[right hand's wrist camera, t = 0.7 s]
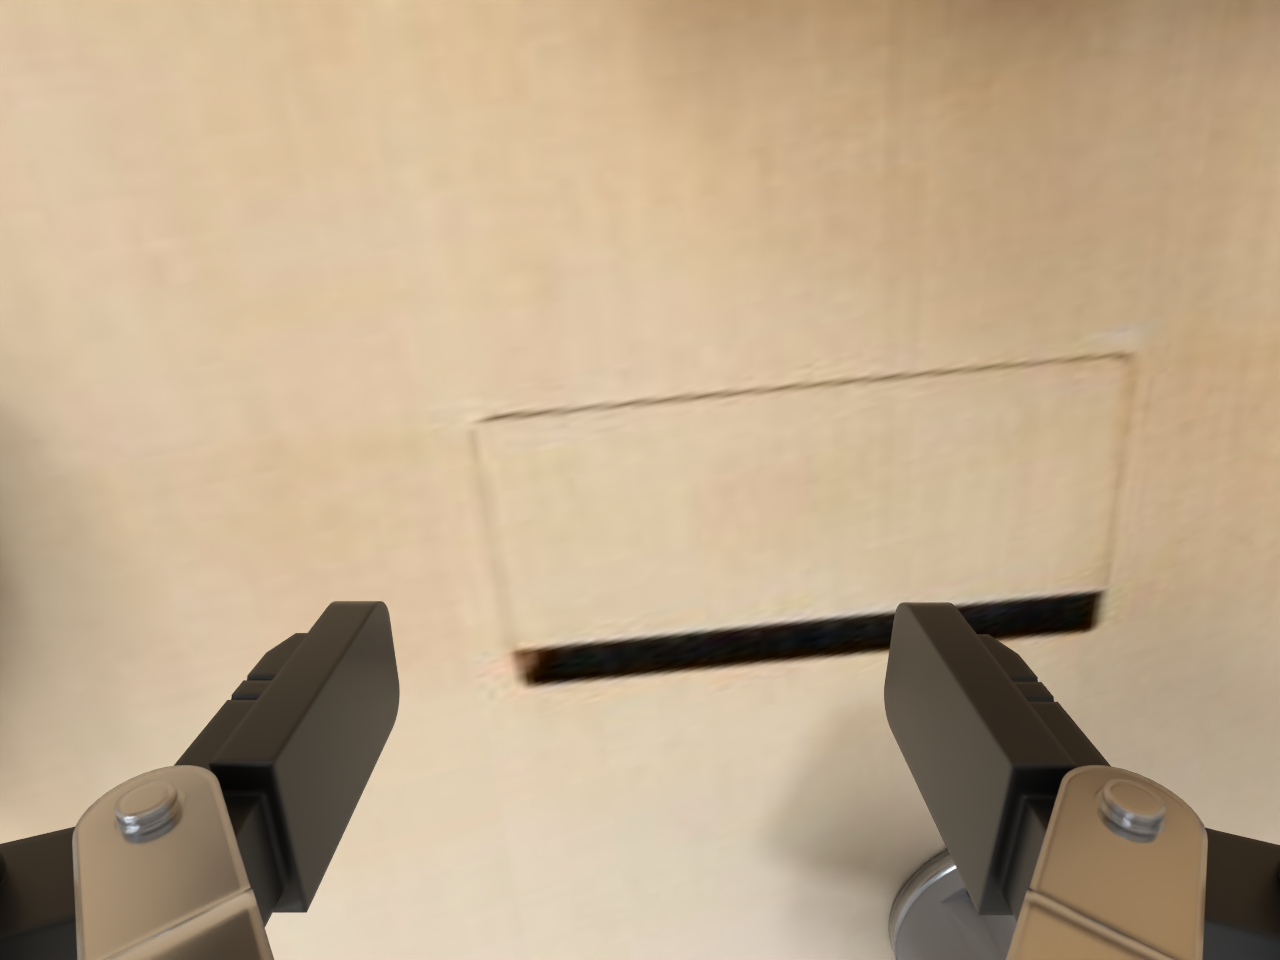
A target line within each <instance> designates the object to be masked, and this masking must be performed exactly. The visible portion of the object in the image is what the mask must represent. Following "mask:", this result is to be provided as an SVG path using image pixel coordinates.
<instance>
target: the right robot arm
mask: <svg viewBox="0 0 1280 960" xmlns="http://www.w3.org/2000/svg"><path fill="white" fill-rule="evenodd" d="M884 701H885V710H886V715H887V719H888V723H889V726H890V728H891V730H892V732H893V734H894V737H895V739H896V741H897V743H898V745H899V747H900V749H901V751H902V754H903V756H904V758H905V760H906V762H907V764H908V766H909V768H910V770H911V773H912V775H913V777H914V779H915V781H916V783H917V785H918V787H919V790H920V792H921V794H922V796H923V798H924V800H925V802H926V804H927V807H928V809H929V811H930V813H931V815H932V817H933V819H934V821H935V824H936V826H937V828H938V830H939V832H940V834H941V836H942V838H943V840H944V843H945V845H946V847H947V849H948V851H949V853H950V855H951V857H952V860H953V862H954V864H955V866H956V868H957V870H958V872H959V874H960V877H961V879H962V881H963V883H964V885H965V887H966V889H967V891H968V893H969V896H970V898H971V900H972V902H973V904H974V906H975V908H976V910H977V913H978V915H1013V916H1014V918H1015V919H1016V921H1017V925H1016V928H1015V931H1014V934H1013V938H1012V941H1011V944H1010V948H1009V951H1008V954H1007V958H1006V960H1280V845H1276V844H1272V843H1268V842H1263V841H1259V840H1255V839H1250V838H1246V837H1242V836H1237V835H1233V834H1229V833H1224V832H1220V831H1216V830H1212V829H1208V828H1205V827H1204V825H1203V823H1202V821H1201V820H1200V818H1199V817H1198V815H1197V814H1196V813H1195V812H1194V811H1193V810H1192V808H1191V807H1190V806H1189V805H1187V804H1186V803H1185V802H1184V801H1183V800H1182V799H1181V798H1179V797H1178V796H1177V795H1175V794H1174V793H1173V792H1171V791H1170V790H1168V789H1167V788H1165V787H1163V786H1162V785H1160V784H1158V783H1156V782H1154V781H1152V780H1151V779H1148V778H1146V777H1144V776H1141V775H1139V774H1136V773H1133V772H1130V771H1127V770H1124V769H1120V768H1116V767H1111V766H1110V765H1109V763H1108V762H1107V761H1106V760H1105V759H1104V757H1103V756H1102V755H1101V754H1100V752H1099V751H1098V750H1097V749H1096V748H1095V746H1094V745H1093V744H1092V743H1091V742H1090V740H1089V739H1088V738H1087V737H1086V736H1085V734H1084V733H1083V732H1082V731H1081V730H1080V728H1079V727H1078V726H1077V725H1076V723H1075V722H1074V721H1073V720H1072V719H1071V717H1070V716H1069V715H1068V714H1067V713H1066V711H1065V710H1064V709H1063V708H1062V707H1061V705H1060V704H1059V703H1058V702H1054V700H1053V696H1052V694H1051V693H1050V692H1049V691H1048V690H1047V688H1046V687H1045V686H1044V685H1043V684H1042V682H1038V680H1037V676H1036V675H1035V674H1034V673H1033V671H1032V670H1031V669H1030V668H1029V667H1028V665H1027V664H1026V663H1025V662H1024V661H1023V659H1022V658H1021V657H1020V656H1019V655H1018V654H1017V653H1015V652H1014V651H1012V650H1011V649H1009V648H1008V647H1006V646H1005V645H1003V644H1002V643H1000V642H999V641H997V640H996V639H994V638H993V637H991V636H990V635H977V634H976V633H975V632H974V630H973V629H972V628H971V626H970V625H969V624H968V622H967V621H966V620H965V619H964V617H963V616H962V615H961V613H960V612H959V611H958V609H957V608H956V607H955V606H954V605H953V604H951V603H901V604H899V606H898V607H897V609H896V613H895V617H894V624H893V630H892V637H891V644H890V651H889V658H888V665H887V672H886V679H885V687H884ZM398 706H399V680H398V673H397V666H396V659H395V652H394V645H393V638H392V631H391V624H390V617H389V612H388V609H387V606H386V605H385V603H384V602H381V601H335V602H332V603H331V604H330V605H329V606H328V607H327V608H326V610H325V611H324V612H323V614H322V615H321V616H320V618H319V619H318V620H317V622H316V623H315V624H314V626H313V627H312V628H311V630H310V631H309V632H308V633H296V634H294V635H293V636H291V637H290V638H288V639H286V640H285V641H283V642H282V643H280V644H279V645H277V646H276V647H274V648H273V649H271V650H270V651H268V652H267V653H266V654H265V655H264V656H263V657H262V659H261V660H260V661H259V662H258V664H257V665H256V666H255V667H254V668H253V670H252V671H251V672H250V673H249V675H248V676H247V681H243V682H242V683H241V684H240V686H239V687H238V688H237V689H236V690H235V692H234V693H233V694H232V699H231V700H227V701H226V703H225V704H224V705H223V706H222V708H221V709H220V710H219V711H218V712H217V714H216V715H215V716H214V717H213V718H212V720H211V721H210V722H209V723H208V725H207V726H206V727H205V728H204V729H203V731H202V732H201V733H200V734H199V736H198V737H197V738H196V739H195V740H194V742H193V743H192V744H191V745H190V747H189V748H188V749H187V750H186V751H185V753H184V754H183V755H182V756H181V758H180V759H179V760H178V761H177V762H176V764H175V765H174V766H170V767H164V768H160V769H156V770H153V771H150V772H147V773H144V774H141V775H139V776H136V777H134V778H132V779H129V780H128V781H126V782H124V783H122V784H120V785H118V786H117V787H115V788H113V789H112V790H110V791H109V792H107V793H106V794H105V795H103V796H102V797H101V798H99V799H98V800H97V801H96V802H95V803H94V804H93V805H91V806H90V807H89V808H88V810H87V811H86V812H85V813H84V814H83V815H82V817H81V818H80V820H79V821H78V823H77V825H76V827H72V828H68V829H64V830H59V831H55V832H51V833H46V834H42V835H38V836H33V837H29V838H25V839H20V840H16V841H12V842H7V843H3V844H0V960H274V958H273V954H272V951H271V948H270V944H269V941H268V938H267V934H266V931H265V926H266V924H267V922H268V920H269V918H270V916H271V914H272V912H307V911H308V908H309V906H310V904H311V902H312V900H313V898H314V896H315V893H316V891H317V889H318V887H319V885H320V883H321V881H322V878H323V876H324V874H325V872H326V870H327V868H328V866H329V863H330V861H331V859H332V857H333V855H334V853H335V851H336V848H337V846H338V844H339V842H340V840H341V838H342V835H343V833H344V831H345V829H346V827H347V825H348V823H349V820H350V818H351V816H352V814H353V812H354V810H355V808H356V805H357V803H358V801H359V799H360V797H361V795H362V793H363V790H364V788H365V786H366V784H367V782H368V780H369V778H370V775H371V773H372V771H373V769H374V767H375V765H376V763H377V760H378V758H379V756H380V754H381V752H382V750H383V747H384V745H385V743H386V741H387V739H388V737H389V735H390V732H391V730H392V728H393V726H394V723H395V720H396V716H397V712H398Z"/></svg>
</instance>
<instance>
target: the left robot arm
mask: <svg viewBox="0 0 1280 960" xmlns="http://www.w3.org/2000/svg"><path fill="white" fill-rule="evenodd" d="M1016 925H1017V921H1016V919H1015V918H1014V916H1013V915H978V913H977V910H976V908H975V906H974V904H973V902H972V900H971V898H970V896H969V893H968V891H967V889H966V887H965V885H964V883H963V881H962V879H961V877H960V874H959V872H958V870H957V868H956V866H955V864H954V862H953V860H952V857H951V855H950V853H949V851H948V850H946V851H944V852H942V853H941V854H939V855H938V856H936V857H934V858H933V859H932V860H930V861H929V862H928V863H926V864H925V865H924V866H923V867H921V868H920V869H919V870H918V871H917V872H916V873H915V874H914V875H913V876H912V877H911V878H910V879H909V880H908V882H907V883H906V884H905V885H904V887H903V888H902V890H901V891H900V893H899V895H898V896H897V898H896V901H895V903H894V905H893V908H892V911H891V915H890V920H889V937H890V942H891V946H892V949H893V952H894V955H895V958H896V960H1006V958H1007V954H1008V951H1009V948H1010V944H1011V941H1012V938H1013V934H1014V931H1015V928H1016Z"/></svg>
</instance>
